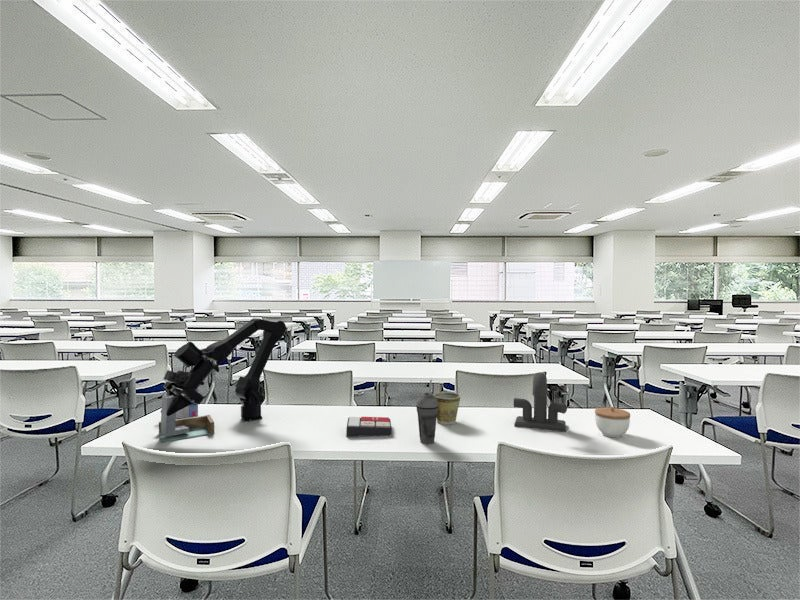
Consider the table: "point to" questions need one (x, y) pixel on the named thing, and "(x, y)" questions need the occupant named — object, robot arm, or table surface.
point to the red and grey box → (368, 426)
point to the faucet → (540, 409)
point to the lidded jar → (612, 421)
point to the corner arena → (191, 428)
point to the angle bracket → (170, 419)
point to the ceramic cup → (447, 407)
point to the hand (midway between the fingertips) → (164, 414)
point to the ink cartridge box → (188, 411)
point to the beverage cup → (427, 416)
